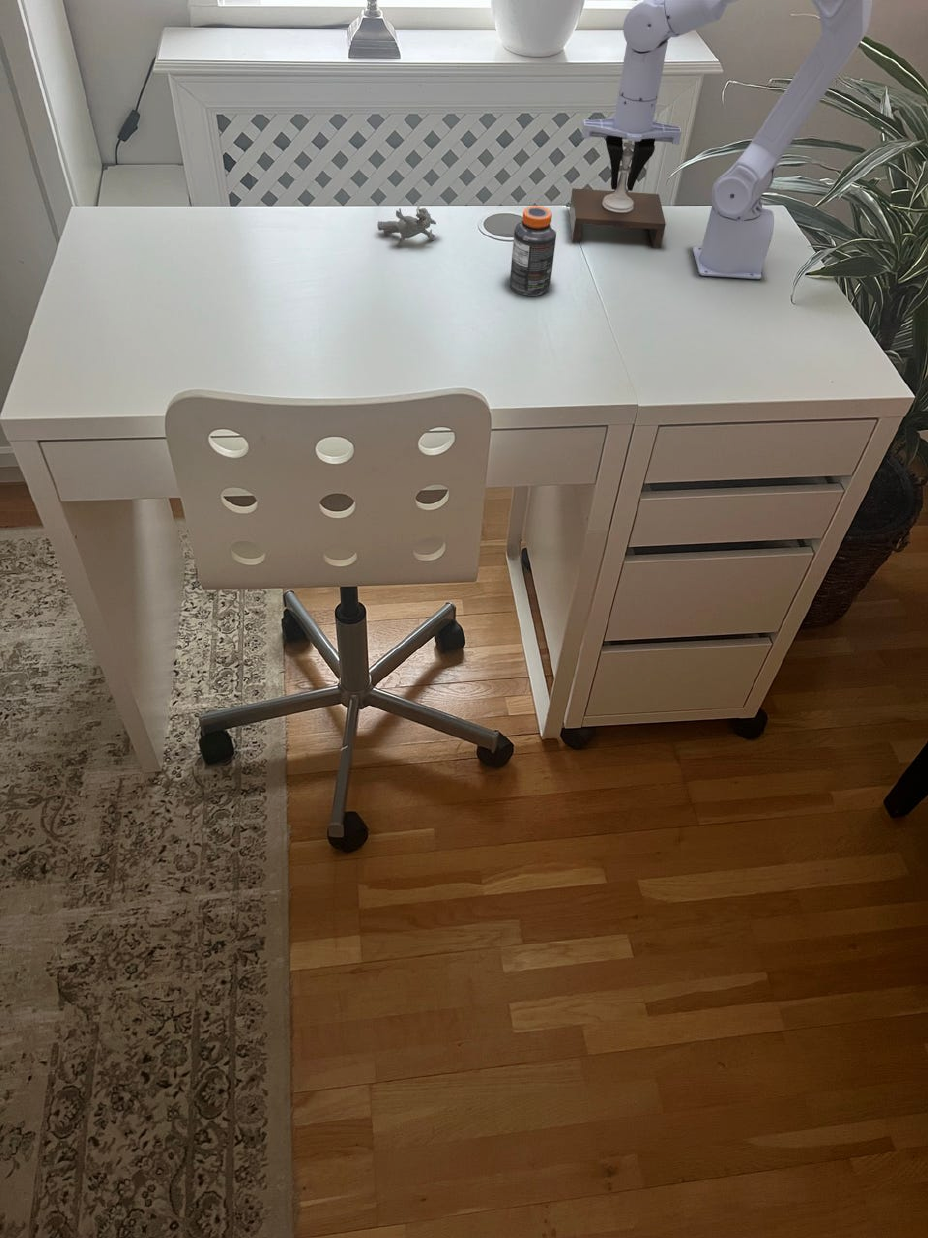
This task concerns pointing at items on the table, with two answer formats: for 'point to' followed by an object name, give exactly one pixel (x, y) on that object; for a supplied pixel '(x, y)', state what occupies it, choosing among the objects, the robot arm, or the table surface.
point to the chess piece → (621, 185)
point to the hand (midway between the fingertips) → (621, 187)
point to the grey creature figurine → (409, 225)
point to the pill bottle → (533, 252)
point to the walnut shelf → (616, 213)
